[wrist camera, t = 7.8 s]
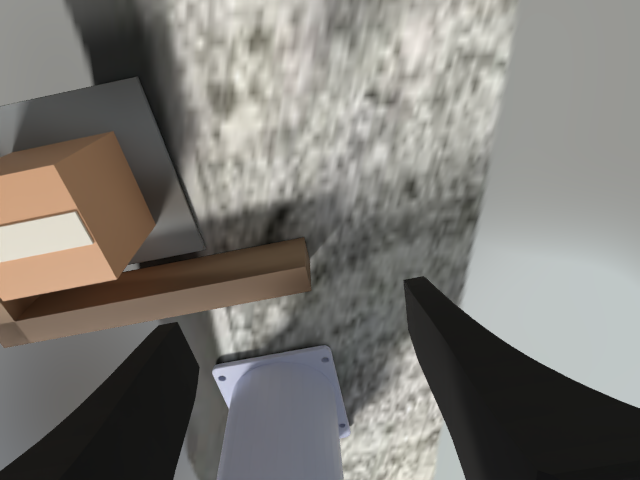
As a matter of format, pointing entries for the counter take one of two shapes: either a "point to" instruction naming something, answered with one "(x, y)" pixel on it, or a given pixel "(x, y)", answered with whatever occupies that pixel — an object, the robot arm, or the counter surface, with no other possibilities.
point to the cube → (68, 216)
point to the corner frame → (164, 240)
